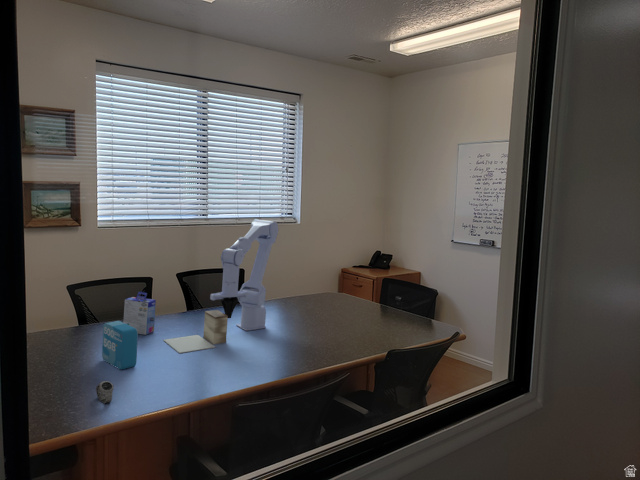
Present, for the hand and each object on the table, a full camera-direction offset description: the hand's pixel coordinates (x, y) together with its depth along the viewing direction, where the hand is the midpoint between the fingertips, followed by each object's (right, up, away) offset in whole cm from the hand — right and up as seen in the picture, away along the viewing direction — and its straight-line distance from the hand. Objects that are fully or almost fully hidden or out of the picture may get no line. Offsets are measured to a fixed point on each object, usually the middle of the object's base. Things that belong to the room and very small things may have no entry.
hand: (228, 317), depth 173 cm
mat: (-12, -8, -8) cm, 17 cm away
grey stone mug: (-21, -13, -53) cm, 59 cm away
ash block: (-4, -8, -2) cm, 9 cm away
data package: (-27, -9, -30) cm, 42 cm away
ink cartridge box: (-33, -5, 0) cm, 33 cm away
